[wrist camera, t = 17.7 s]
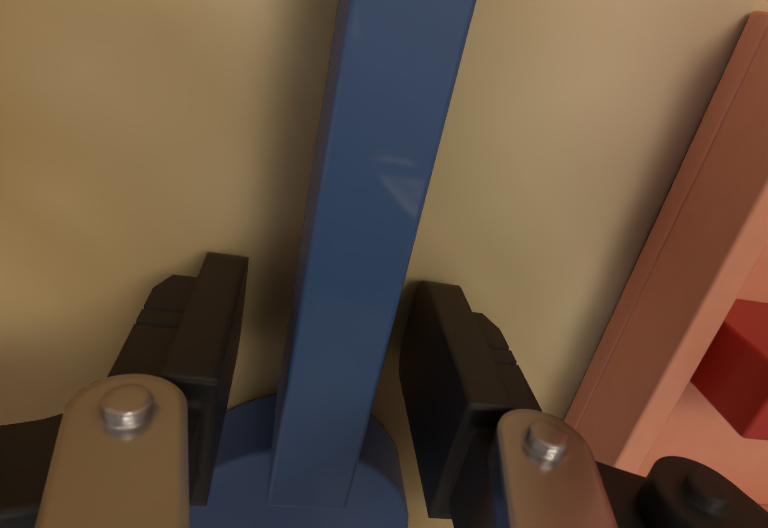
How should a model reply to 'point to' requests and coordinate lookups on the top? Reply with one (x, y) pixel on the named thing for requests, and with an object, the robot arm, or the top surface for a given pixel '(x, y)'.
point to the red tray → (690, 293)
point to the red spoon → (739, 369)
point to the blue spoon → (347, 281)
